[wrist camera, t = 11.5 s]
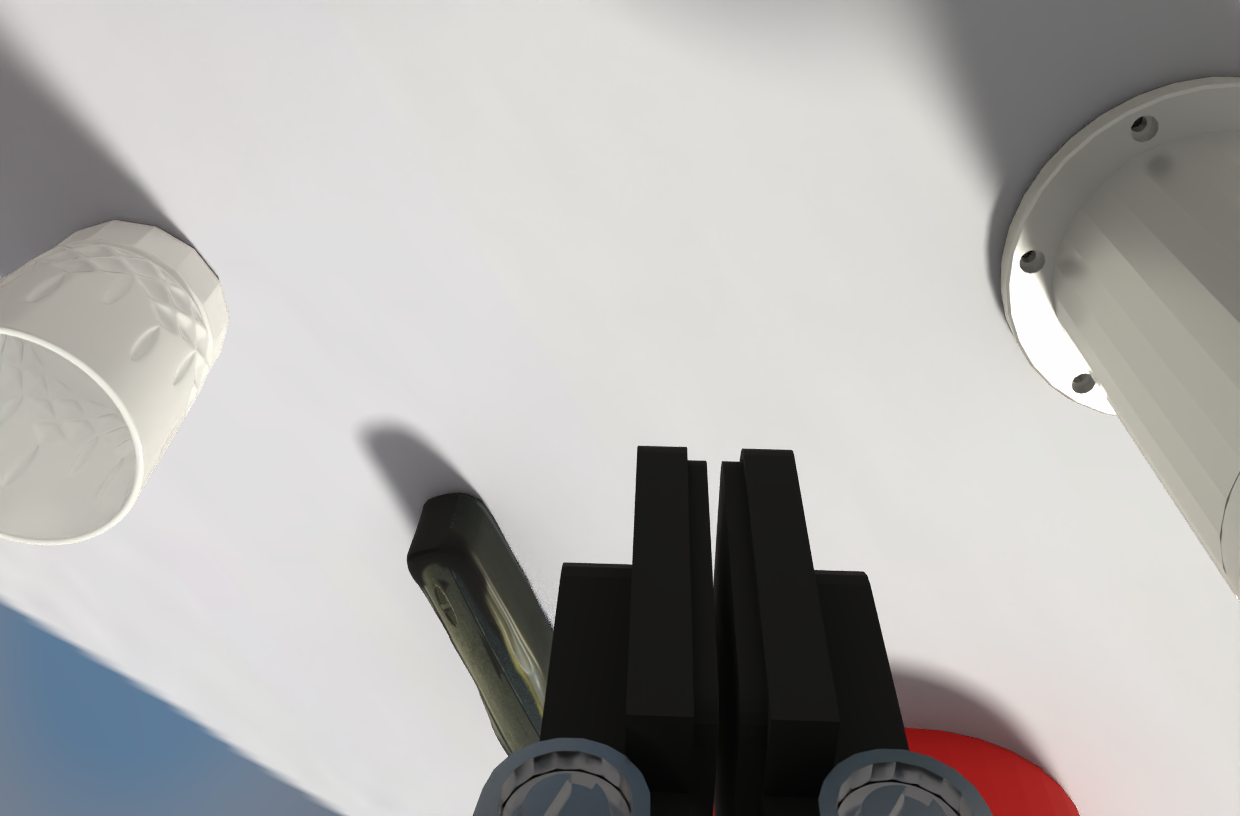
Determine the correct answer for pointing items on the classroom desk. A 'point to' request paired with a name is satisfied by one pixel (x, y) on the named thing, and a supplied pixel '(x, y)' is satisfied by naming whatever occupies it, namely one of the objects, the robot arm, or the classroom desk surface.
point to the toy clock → (995, 774)
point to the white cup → (98, 374)
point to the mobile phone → (485, 612)
